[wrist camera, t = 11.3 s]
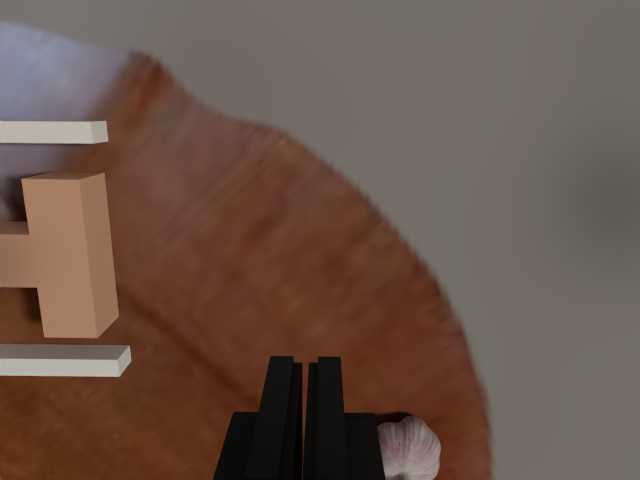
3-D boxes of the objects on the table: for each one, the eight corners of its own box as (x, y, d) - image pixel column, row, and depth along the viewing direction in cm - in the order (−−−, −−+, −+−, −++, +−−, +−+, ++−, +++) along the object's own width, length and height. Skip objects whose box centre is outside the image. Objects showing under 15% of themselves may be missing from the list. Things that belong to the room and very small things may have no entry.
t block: (118, 316, 40) (97, 338, 36) (-25, 313, 40) (-61, 335, 37) (104, 172, 37) (79, 180, 33) (-51, 169, 37) (-94, 177, 33)
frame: (131, 361, 41) (119, 376, 39) (-43, 359, 41) (-66, 374, 39) (106, 120, 36) (90, 121, 34) (-94, 119, 36) (-123, 120, 34)
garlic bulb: (425, 397, 42) (448, 461, 34) (446, 464, 44) (472, 540, 36) (342, 420, 43) (347, 488, 35) (366, 485, 45) (375, 564, 37)
